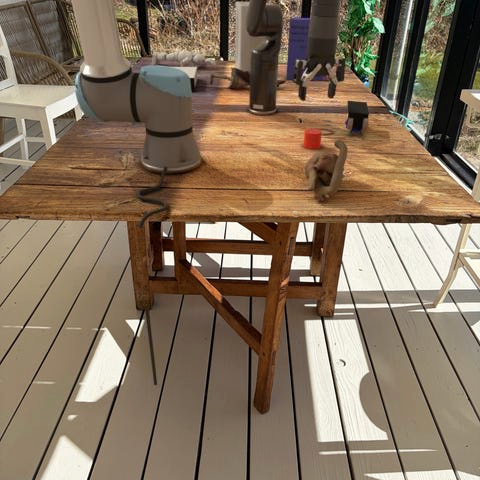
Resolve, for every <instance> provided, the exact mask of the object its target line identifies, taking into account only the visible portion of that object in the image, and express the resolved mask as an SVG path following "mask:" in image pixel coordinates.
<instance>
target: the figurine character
mask: <svg viewBox="0 0 480 480" xmlns="http://www.w3.org/2000/svg"><path fill="white" fill-rule="evenodd" d="M346 104H347V114H346V121H345V122H344V124H345V128H346V130H347V131H349V135H350V136H353V133H358V135H359V136H362V135H363V131H368V128H369V121H370V120H369V115H370V111H369V108H368V103H367V101H357V100H347V102H346Z"/></svg>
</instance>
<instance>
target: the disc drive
mask: <svg viewBox="0 0 480 480" xmlns="http://www.w3.org/2000/svg"><path fill="white" fill-rule="evenodd" d="M172 67H173V68H176V69H179V70H182V71H184V72H185V73H186V74H187V75H188V76H189V78H190V83H191V91H192V92H196V85H197V81H198V67H194V66H183V67H181V66H172Z"/></svg>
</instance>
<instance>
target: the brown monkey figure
mask: <svg viewBox="0 0 480 480" xmlns="http://www.w3.org/2000/svg"><path fill="white" fill-rule="evenodd" d="M334 147H335V148H336V149H338V150H339V152H338V155H337V154H336V153H329V152H325V151H323V150H321V149H319V150H317V151H316V152H314V153H313V155H312V156H311V157H310V158H309V159H308V160H307V162H306V163H305V165H304V169H303V172H304V175H305V177H306V178H307V179H308V191H312V192H313V199H314V200H316V201H319V200H320V201H321V202H324V201H325V200H329V198H330V196H332V195H335V194H336V193H337V192H338V191H339V190H340V188H341V185H342V183H343V174H344V171H345V164H346V161H347V158H348V153H349V151H348V149H349V148H348V146H347V144H346V143H345V142H344V141H343V140H341V139H336V140H335V141H334Z"/></svg>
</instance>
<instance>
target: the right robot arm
mask: <svg viewBox="0 0 480 480" xmlns="http://www.w3.org/2000/svg"><path fill="white" fill-rule="evenodd" d="M248 2H249V5H248V9H247V14H246V30H247V33H248V34H249V35H250V36H252V37H264V40H263V42H262V43H261V44H259V45H258V46H256V47H254V48H253V49H252V50H251V52H250V86H249V98H248V99H249V100H248V101H249V102H248V112H249V113H251V114H253V115H259V116H267V115H273V114H275V113H276V112H277V99H278V98H277V97H278V95H277V94H278V88H277V80H279V79H278V78H279V76H278V75H279V58H280V57H279V56H280V52H281V48H282V39H283V31H284V13H283V9H282V7H281V6H280V5H279V4H276V3H268V0H249V1H248ZM266 3H268V4H266ZM341 3H342V0H311V9H310V17H309V18H310V23H309V30H308V43H307V58H306V60H299V59H296V60H295V64H294V72H293V80H291V81H292V83H293V84H296V85H297V86H298V90H297V96H298V98H299V100H301V101H302V102H304V101H306V98H307V88H308V87H307V85H308V83H309V82H310V81H313V80H312V78H313V77H314V76H315V77H319V76H327V80H328V81H329V82H328V87H327V95H326V96H327V98H328V99H334V97H335V96H336V93H337V86H338V85H337V84H338V83H340V82H342V83H343V82H344V81H345V73H346V58H345V57H342V56H338V57H336V54H337V49H338V47H337V46H338V40H339V32H340V31H339V30H340V13H341V5H342V4H341ZM305 65H306V67H307V69H306V70H305V72H304V73H303V76H302V69H303V68H304V66H305ZM334 67H336V68H335V72H334V70H333V68H334ZM309 73H310V74H309ZM308 74H309V75H308ZM301 76H302V77H301Z"/></svg>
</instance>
